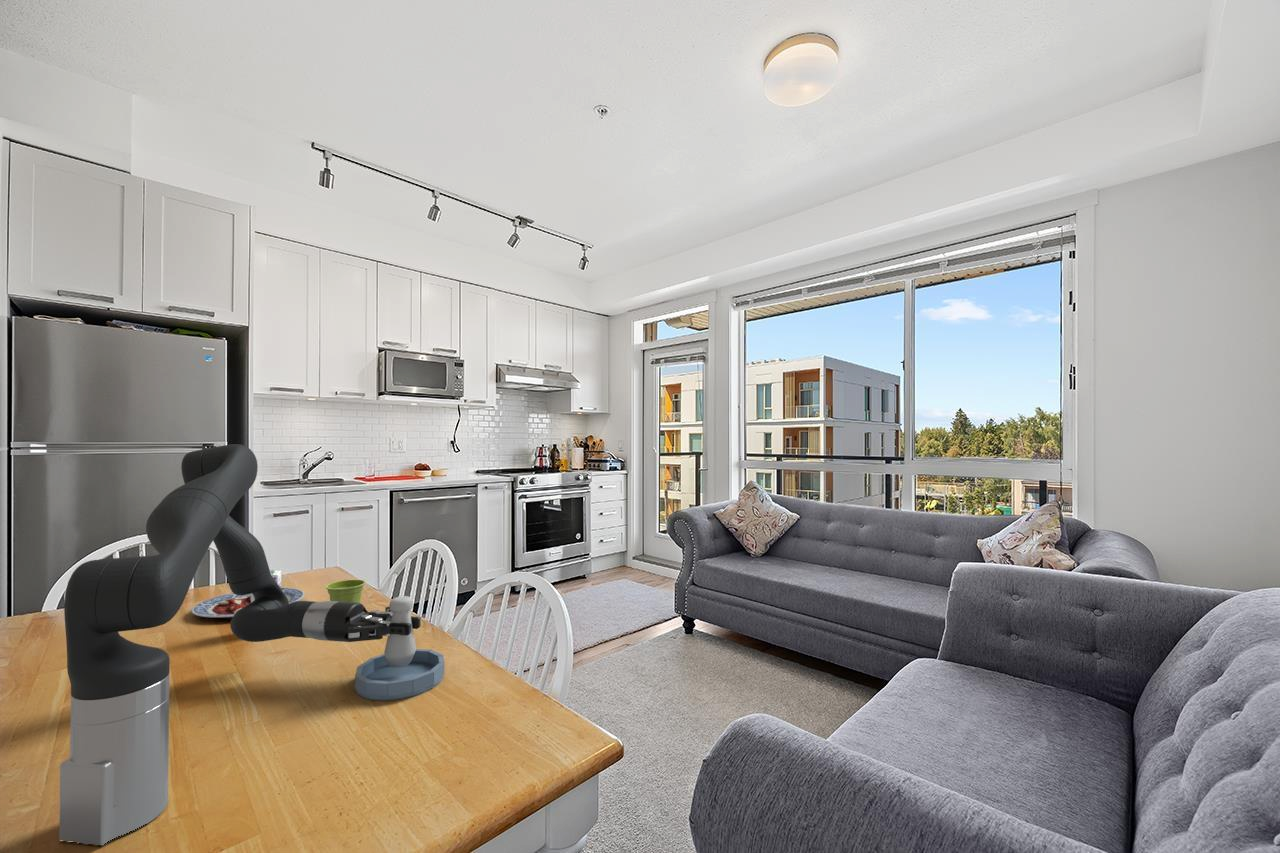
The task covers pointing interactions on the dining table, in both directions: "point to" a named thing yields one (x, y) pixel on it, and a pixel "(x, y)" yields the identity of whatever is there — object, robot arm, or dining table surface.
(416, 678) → the bowl
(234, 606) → the ceramic plate
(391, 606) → the salt shaker
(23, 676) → the dining table surface
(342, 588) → the plant pot
